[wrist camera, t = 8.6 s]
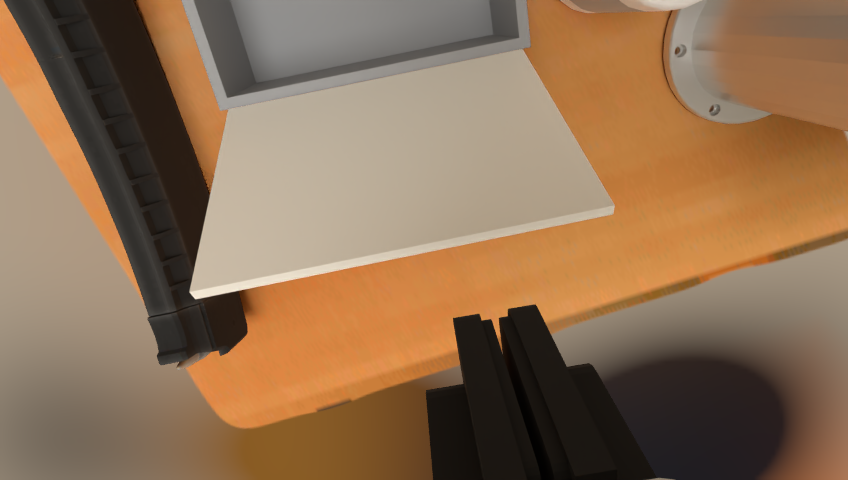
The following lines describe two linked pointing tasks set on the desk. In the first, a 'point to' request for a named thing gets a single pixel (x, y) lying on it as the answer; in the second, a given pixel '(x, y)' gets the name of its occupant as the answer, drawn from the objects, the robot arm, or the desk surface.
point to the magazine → (135, 161)
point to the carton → (342, 41)
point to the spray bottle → (627, 5)
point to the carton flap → (390, 173)
